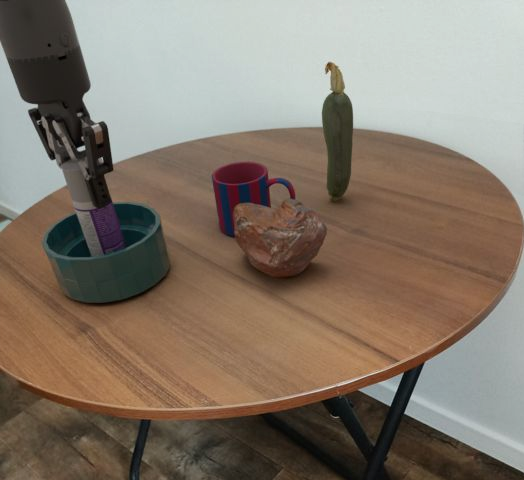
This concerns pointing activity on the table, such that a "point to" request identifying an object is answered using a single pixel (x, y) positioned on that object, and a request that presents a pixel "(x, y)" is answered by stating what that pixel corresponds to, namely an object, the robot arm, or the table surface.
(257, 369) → the table surface
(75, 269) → the teal pet bowl
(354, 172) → the table surface
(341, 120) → the vegetable
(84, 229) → the container
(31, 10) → the robot arm
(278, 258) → the stone
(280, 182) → the mug
